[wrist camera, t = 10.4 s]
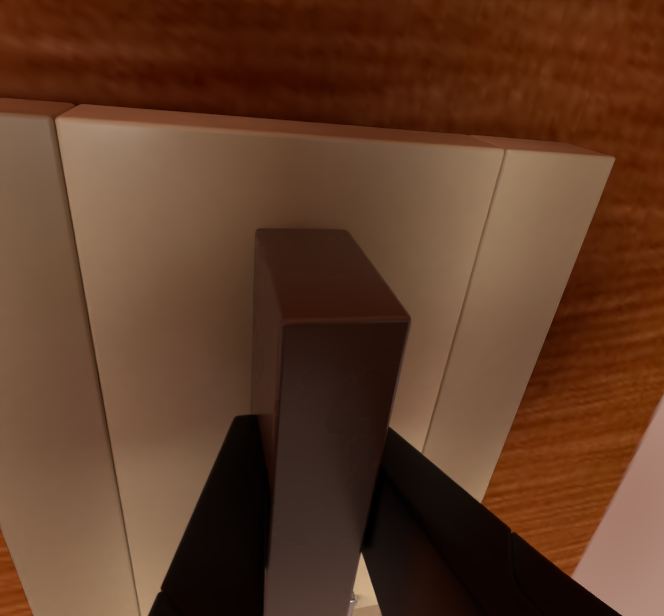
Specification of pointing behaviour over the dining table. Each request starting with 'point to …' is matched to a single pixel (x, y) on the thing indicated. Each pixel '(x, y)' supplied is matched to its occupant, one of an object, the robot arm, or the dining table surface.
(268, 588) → the fork
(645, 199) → the dining table surface
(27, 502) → the board
